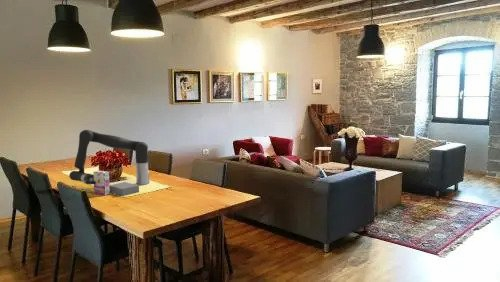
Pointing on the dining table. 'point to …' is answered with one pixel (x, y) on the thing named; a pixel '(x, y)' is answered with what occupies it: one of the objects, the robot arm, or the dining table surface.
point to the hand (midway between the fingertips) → (100, 181)
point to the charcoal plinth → (124, 188)
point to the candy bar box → (101, 183)
